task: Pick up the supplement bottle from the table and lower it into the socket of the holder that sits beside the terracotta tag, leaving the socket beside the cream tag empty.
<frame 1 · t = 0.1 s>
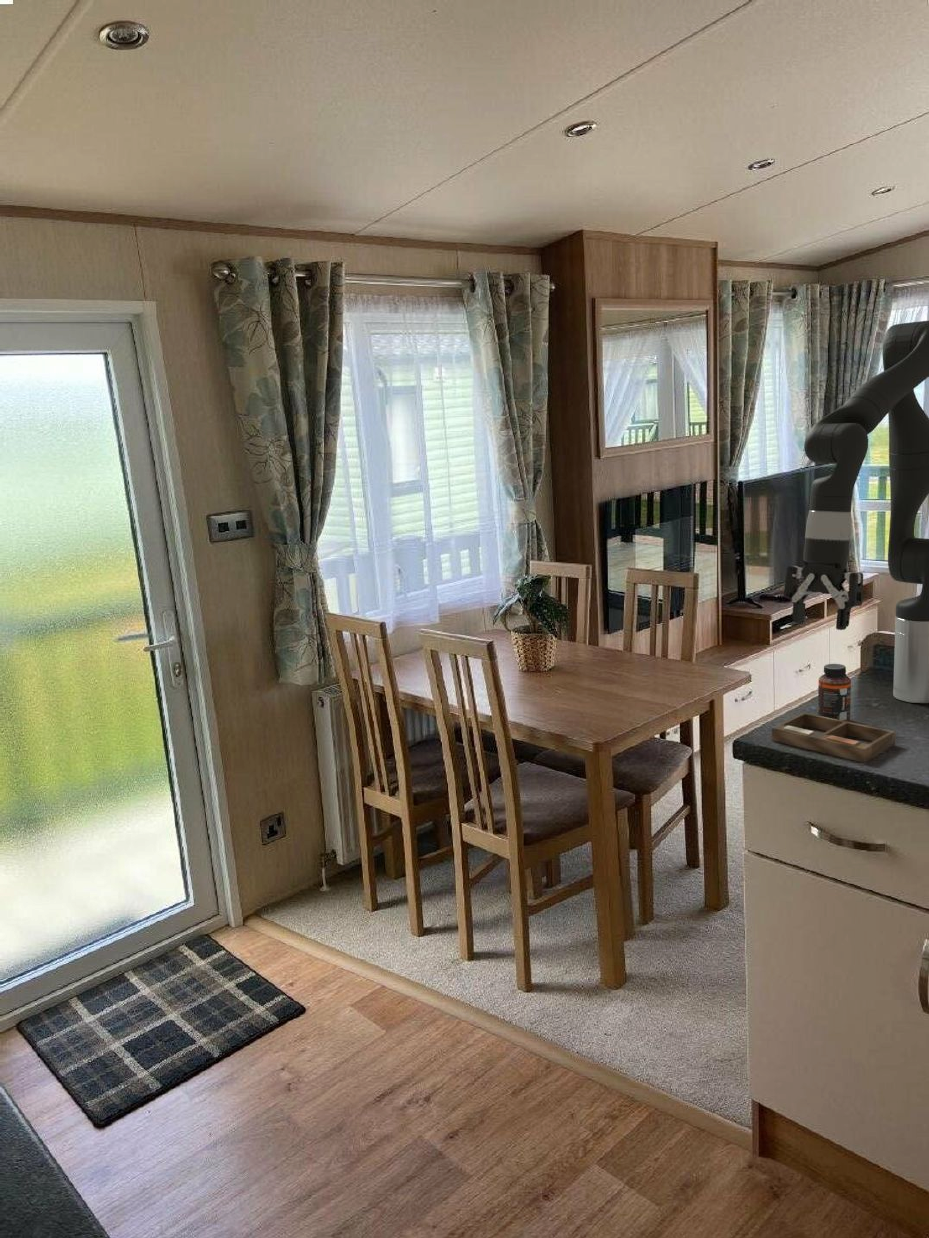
hand: (819, 626, 172), 22 cm above the counter, tool pointing down, fingers open, 8 cm apart
supplement bottle: (834, 722, 187), on the counter
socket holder: (832, 742, 176), on the counter
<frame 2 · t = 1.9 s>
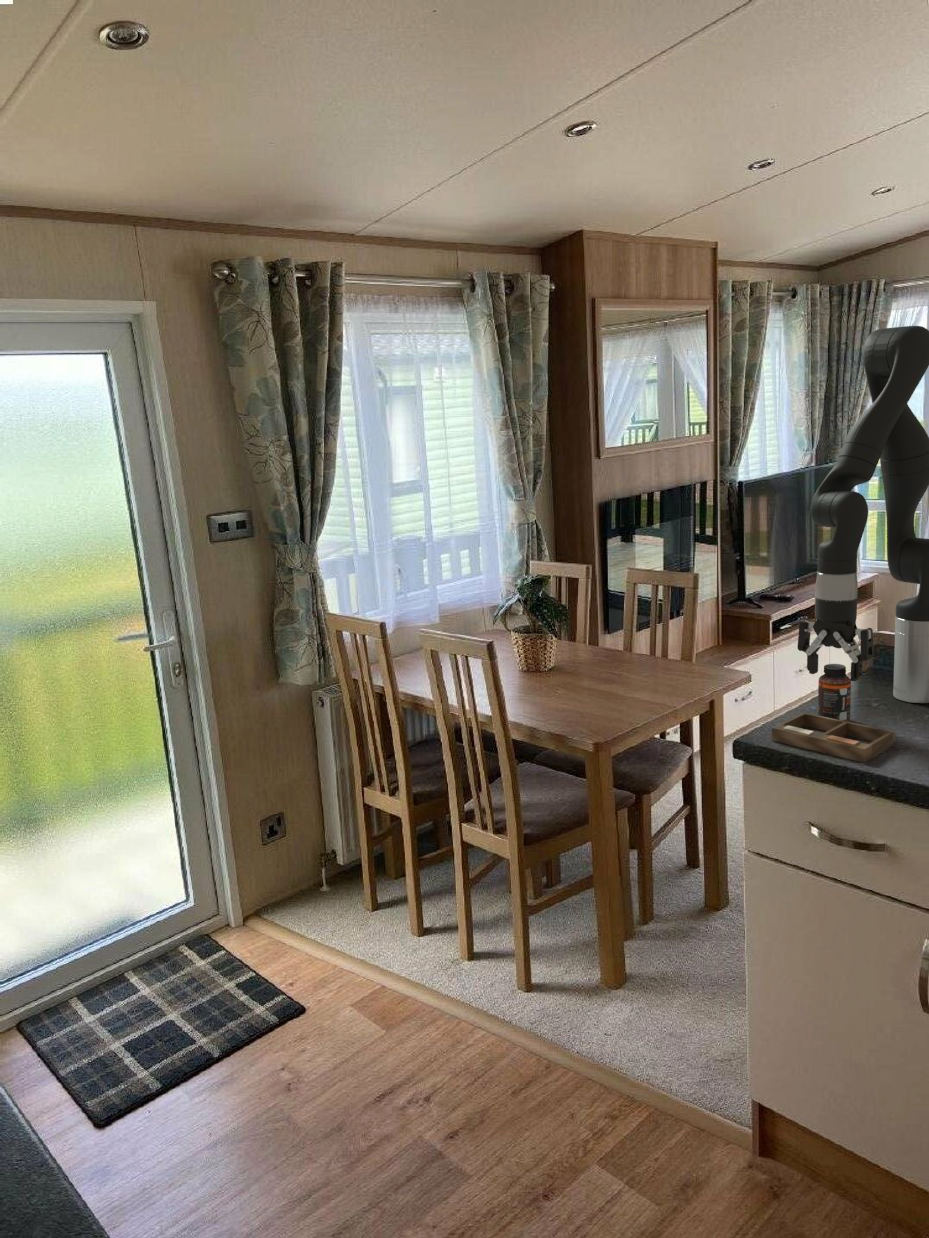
hand: (833, 676, 185), 9 cm above the counter, tool pointing down, fingers open, 8 cm apart
nothing on the counter moved.
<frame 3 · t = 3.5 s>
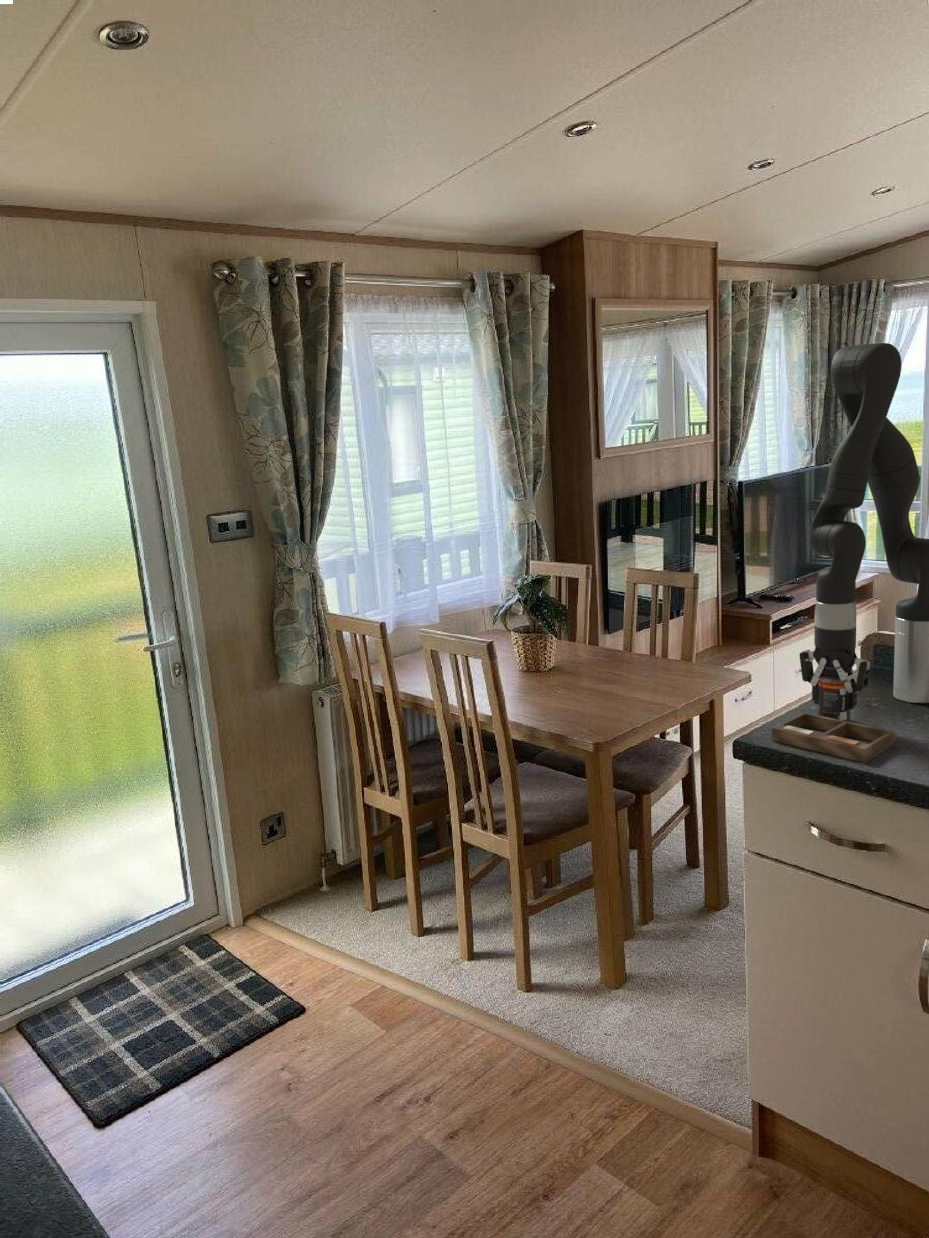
hand: (834, 706, 186), 3 cm above the counter, tool pointing down, fingers closed on supplement bottle, 6 cm apart
supplement bottle: (834, 722, 187), on the counter, touching gripper
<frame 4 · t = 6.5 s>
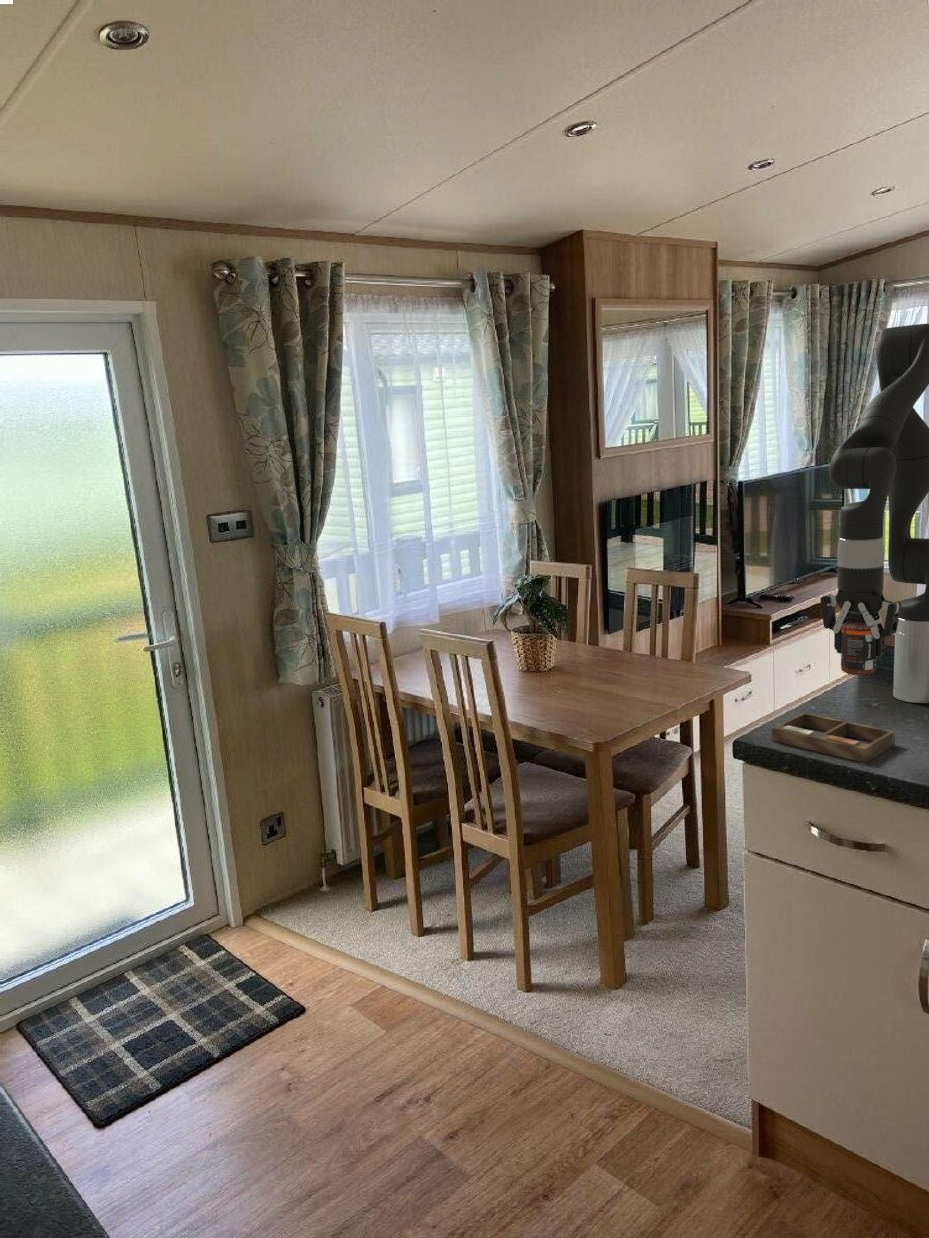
hand: (858, 654, 170), 17 cm above the counter, tool pointing down, fingers closed on supplement bottle, 6 cm apart
supplement bottle: (858, 672, 171), point 14 cm above the counter, touching gripper
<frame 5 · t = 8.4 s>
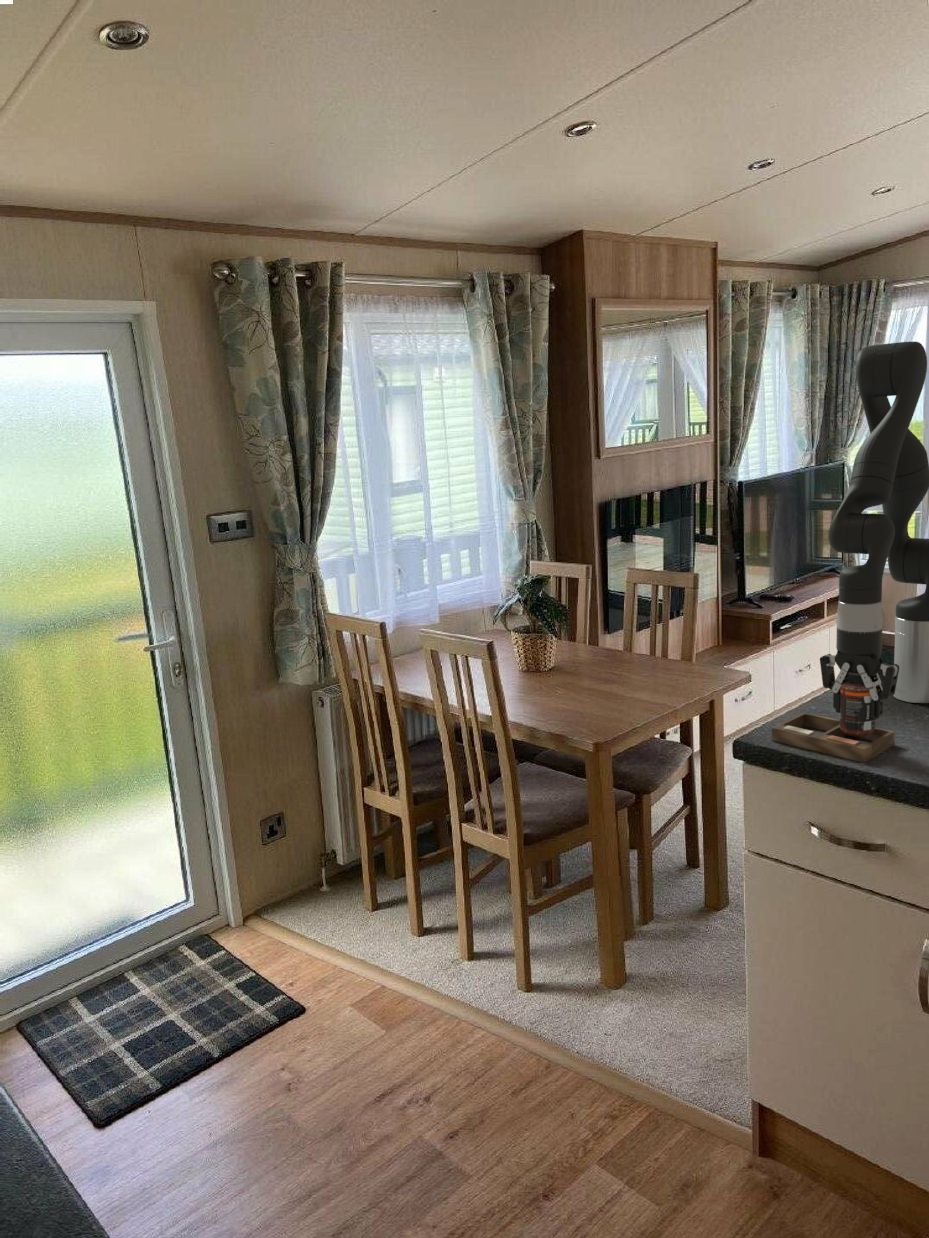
hand: (857, 714, 172), 6 cm above the counter, tool pointing down, fingers closed on supplement bottle, 6 cm apart
supplement bottle: (857, 732, 173), point 3 cm above the counter, touching gripper
when the fingers open (4 cm above the counter, at t = 9.9 s): supplement bottle drops 1 cm, resting in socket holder.
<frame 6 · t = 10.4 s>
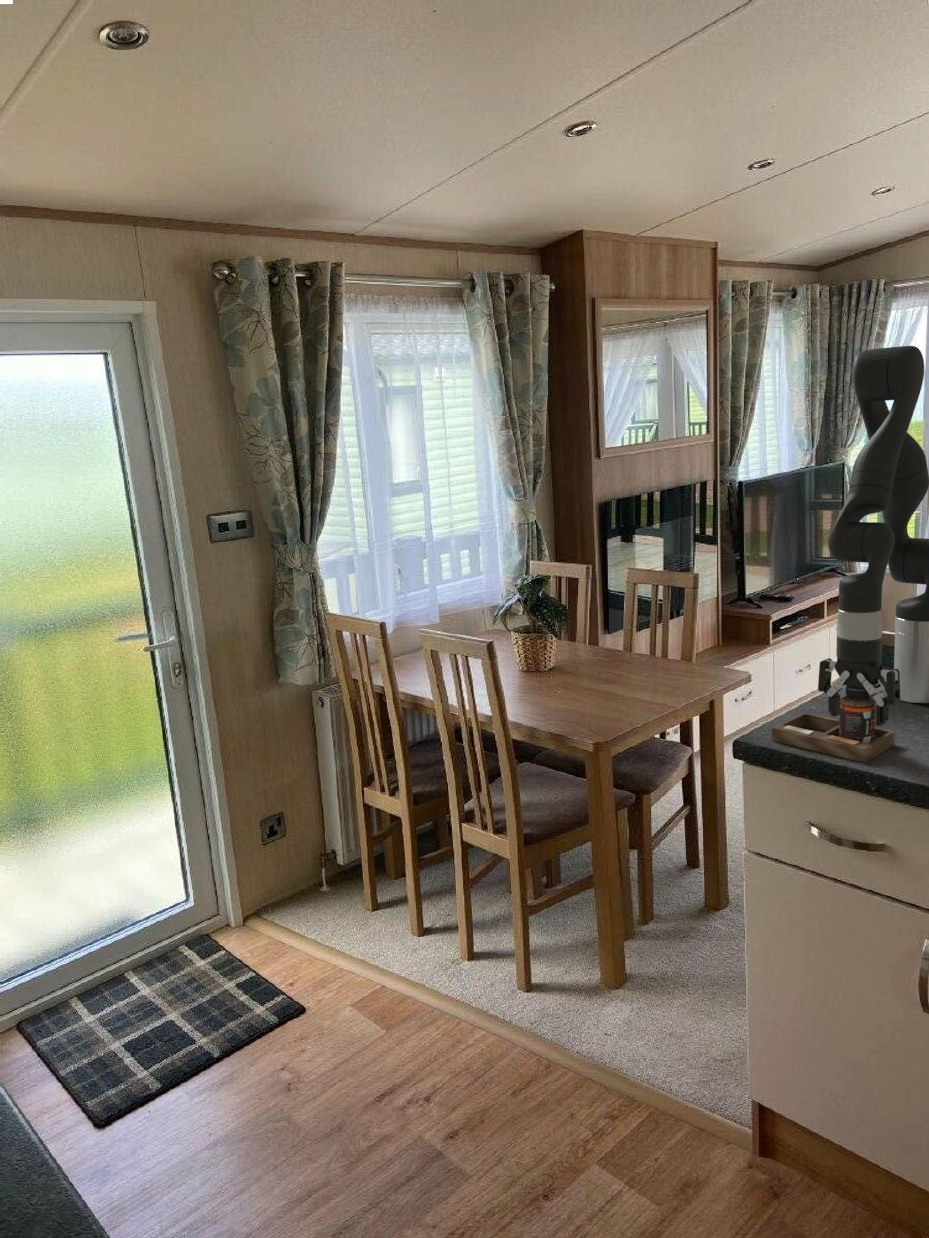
hand: (857, 719, 172), 5 cm above the counter, tool pointing down, fingers open, 8 cm apart
supplement bottle: (856, 747, 174), resting in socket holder
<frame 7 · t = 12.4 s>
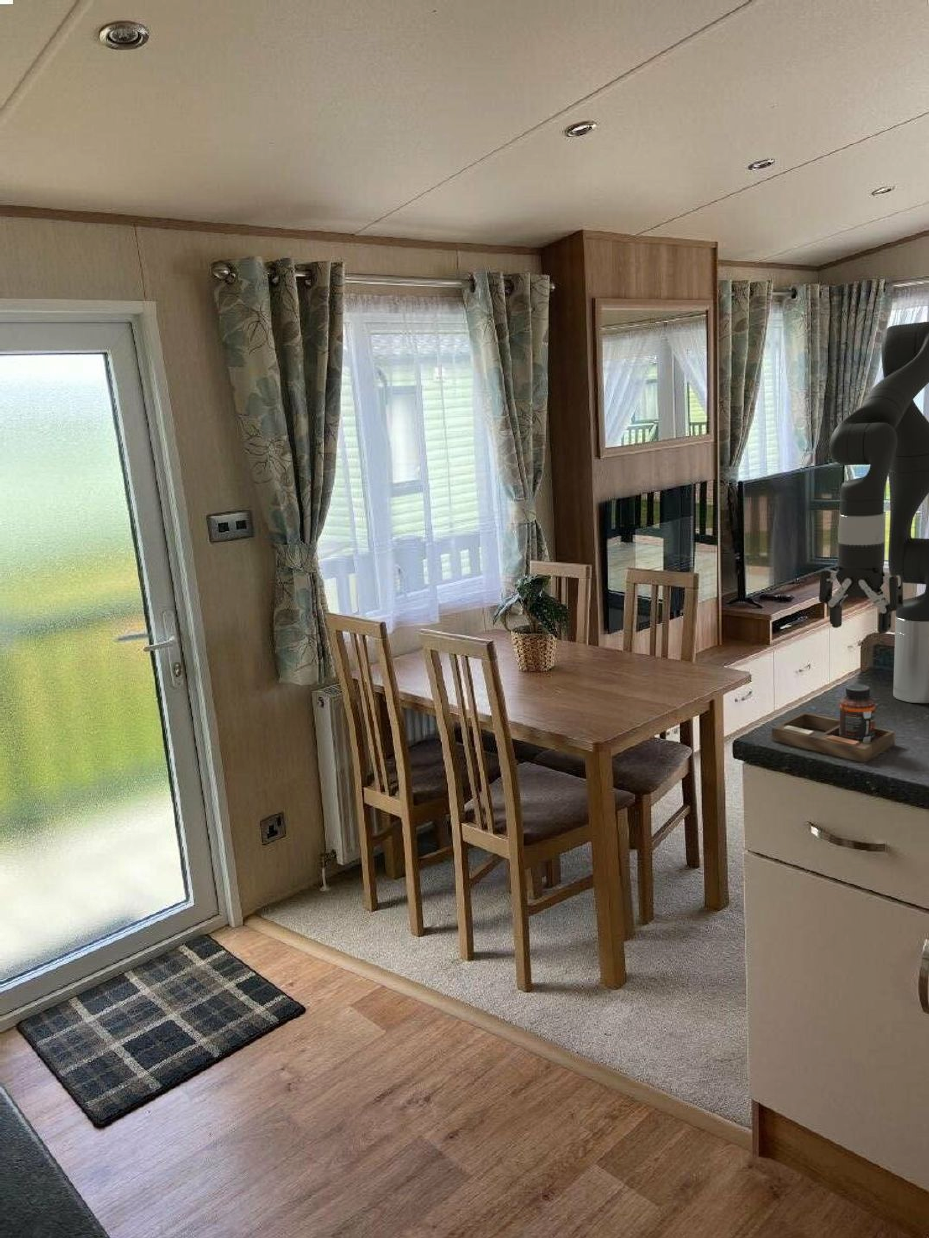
hand: (859, 629, 169), 22 cm above the counter, tool pointing down, fingers open, 8 cm apart
nothing on the counter moved.
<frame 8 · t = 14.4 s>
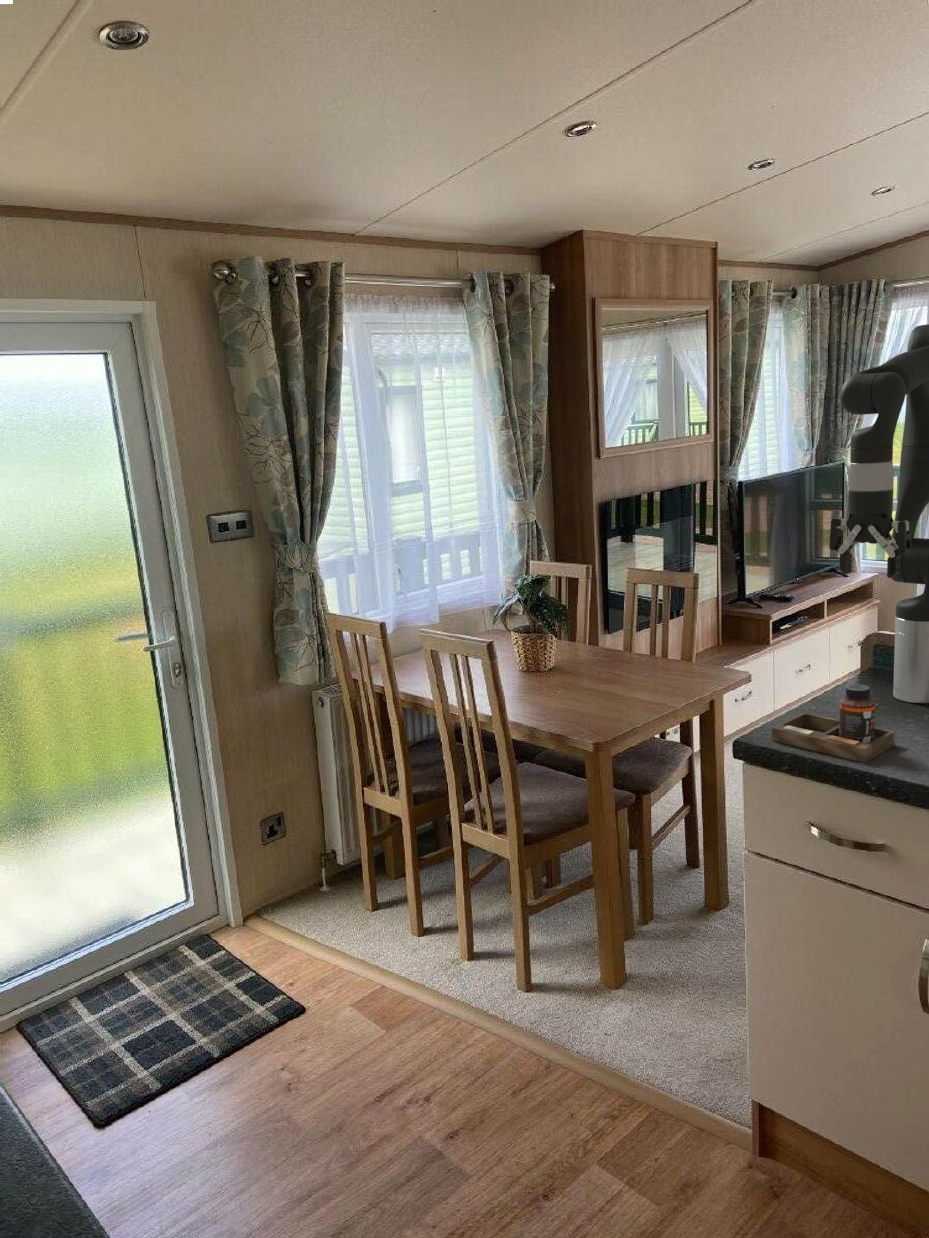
hand: (868, 575, 175), 30 cm above the counter, tool pointing down, fingers open, 8 cm apart
nothing on the counter moved.
at the end: supplement bottle 0.1 cm from the target spot, resting in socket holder; supplement bottle tilted 0°; the gripper is holding nothing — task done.
